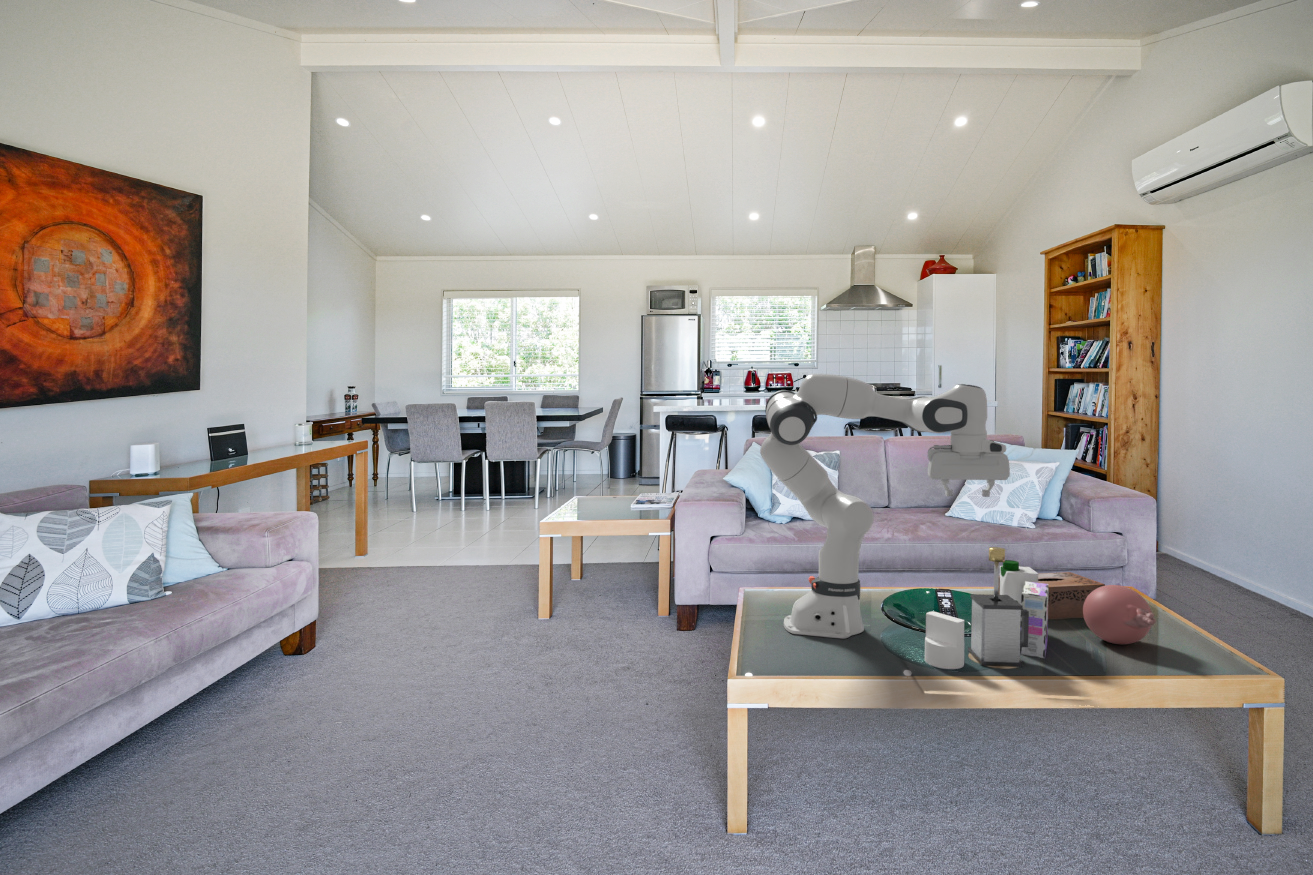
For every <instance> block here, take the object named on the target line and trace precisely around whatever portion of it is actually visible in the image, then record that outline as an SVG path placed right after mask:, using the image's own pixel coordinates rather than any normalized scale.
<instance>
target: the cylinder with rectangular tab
mask: <svg viewBox="0 0 1313 875" xmlns="http://www.w3.org/2000/svg"><path fill="white" fill-rule="evenodd" d="M924 661H925V663H926V664H928V665H930V666H932V667H935V668H939V669H944V670H956V669H957V670H959V669H961V668H963V667H964V666H965V619H962V618H959V617H958V618H957V617H954V616H951V615H948V614H944V613H941V612H937V611H934V610H933V611H928V612H926V614H925V637H924Z"/></svg>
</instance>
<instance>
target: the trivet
mask: <svg viewBox="0 0 1313 875" xmlns="http://www.w3.org/2000/svg"><path fill="white" fill-rule="evenodd" d="M968 659H970V661H972V662H974V663H976V664H979V663H978V661H977V660H976V659H975V658H974V657H973V656H972V655H971V654H970V653H969V652H968ZM1020 661H1021V662H1022V660H1021V659H1020ZM979 665H980V664H979ZM987 667H989V668H994V669H1003V670H1004V669H1006V670H1009V669H1017V668H1018V667H1004V666H987Z"/></svg>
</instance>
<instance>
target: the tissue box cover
mask: <svg viewBox="0 0 1313 875" xmlns="http://www.w3.org/2000/svg"><path fill="white" fill-rule="evenodd" d="M1037 573H1038V572H1037ZM1038 583H1044V584H1048V620H1063V619H1077V618H1078V619H1079V618H1083V619H1084V616H1083V605H1084V602H1085V600H1086V598H1087V596H1088V595H1089V594H1090V593H1091V592H1092V591H1094V590H1095V589H1097V588H1099V587H1102V586H1106V584H1105V583H1103V582H1100V581H1097V580H1094V579H1091V578H1088V577H1085V576H1082V575H1080V574H1077V573H1074V572H1071V571H1063V572H1061V571H1060V572H1045V573H1044V572H1040V573H1038ZM998 595H1000V574H999V585H998Z"/></svg>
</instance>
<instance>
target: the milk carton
mask: <svg viewBox="0 0 1313 875" xmlns="http://www.w3.org/2000/svg"><path fill="white" fill-rule="evenodd" d="M999 575H1000V595H1008V596H1010V597H1011V598H1013V599H1014V600H1015V601H1017V602H1018V603H1019V604H1021V595H1022V591H1023V587H1024V584H1025V581H1027V582H1036V583H1038V572H1037V571H1035V570H1034V569H1033V568H1031V567H1030V566H1020V562H1019V561H1016V560H1011V559H1010V560H1009V559H1005V562H1002V565H999ZM1020 627H1021V620H1020Z"/></svg>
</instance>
